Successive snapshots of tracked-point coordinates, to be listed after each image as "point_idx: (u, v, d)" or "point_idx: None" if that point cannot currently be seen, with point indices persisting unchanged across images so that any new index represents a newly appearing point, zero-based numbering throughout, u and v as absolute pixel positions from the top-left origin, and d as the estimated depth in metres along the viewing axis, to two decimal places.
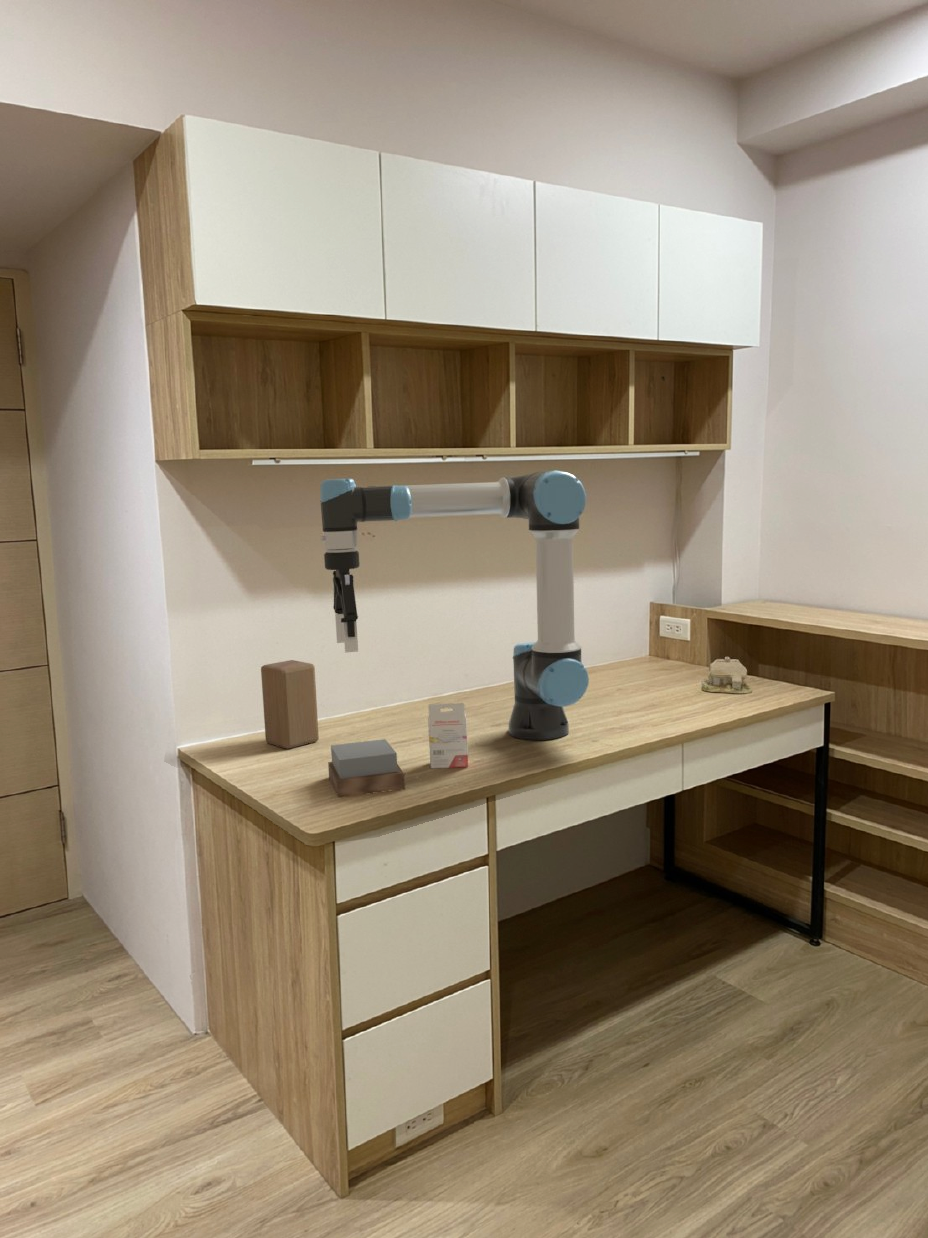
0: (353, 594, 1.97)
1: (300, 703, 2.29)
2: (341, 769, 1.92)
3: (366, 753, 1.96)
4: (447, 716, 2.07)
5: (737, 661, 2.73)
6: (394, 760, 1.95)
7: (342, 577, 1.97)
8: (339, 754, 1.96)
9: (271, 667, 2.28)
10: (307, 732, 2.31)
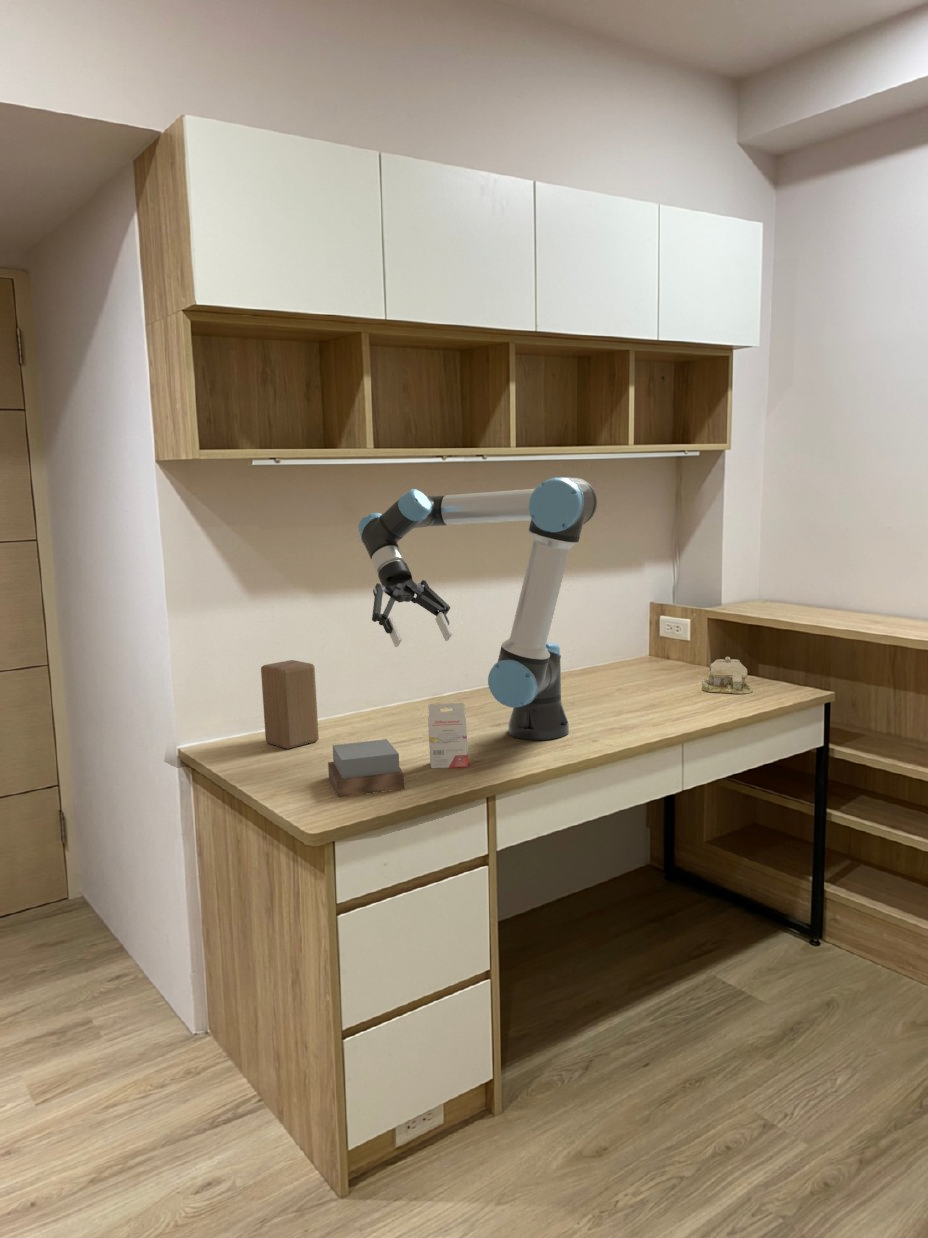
0: (376, 598, 2.16)
1: (299, 703, 2.29)
2: (343, 769, 1.92)
3: (368, 753, 1.96)
4: (447, 716, 2.07)
5: (737, 661, 2.72)
6: (396, 761, 1.95)
7: (373, 590, 2.20)
8: (341, 754, 1.96)
9: (271, 667, 2.28)
10: (307, 732, 2.31)
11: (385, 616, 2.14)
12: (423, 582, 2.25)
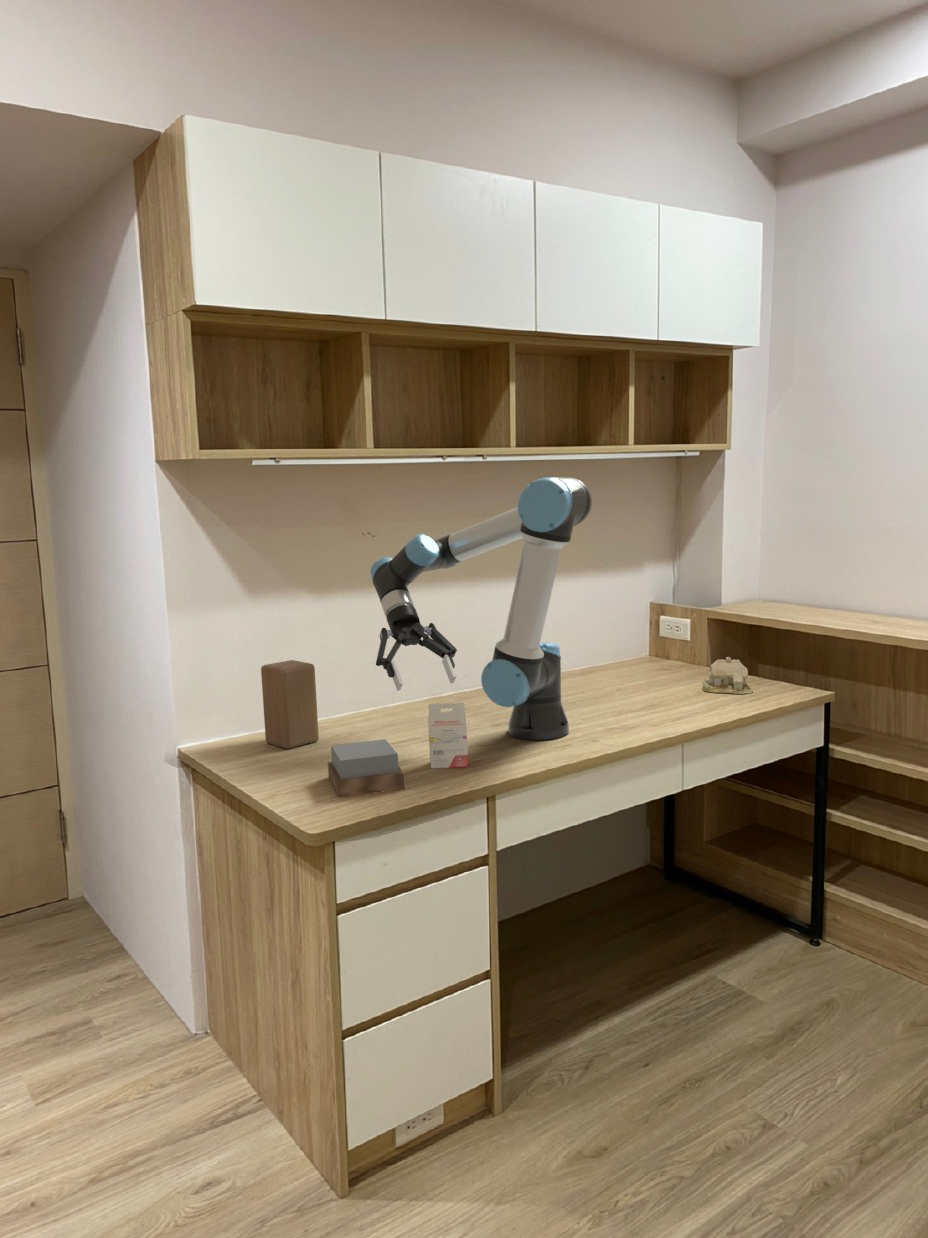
0: (381, 642, 2.21)
1: (300, 703, 2.29)
2: (342, 769, 1.92)
3: (367, 753, 1.96)
4: (447, 716, 2.07)
5: (738, 661, 2.72)
6: (395, 761, 1.95)
7: None
8: (340, 754, 1.96)
9: (271, 667, 2.28)
10: (307, 732, 2.31)
11: (388, 660, 2.17)
12: (431, 625, 2.28)
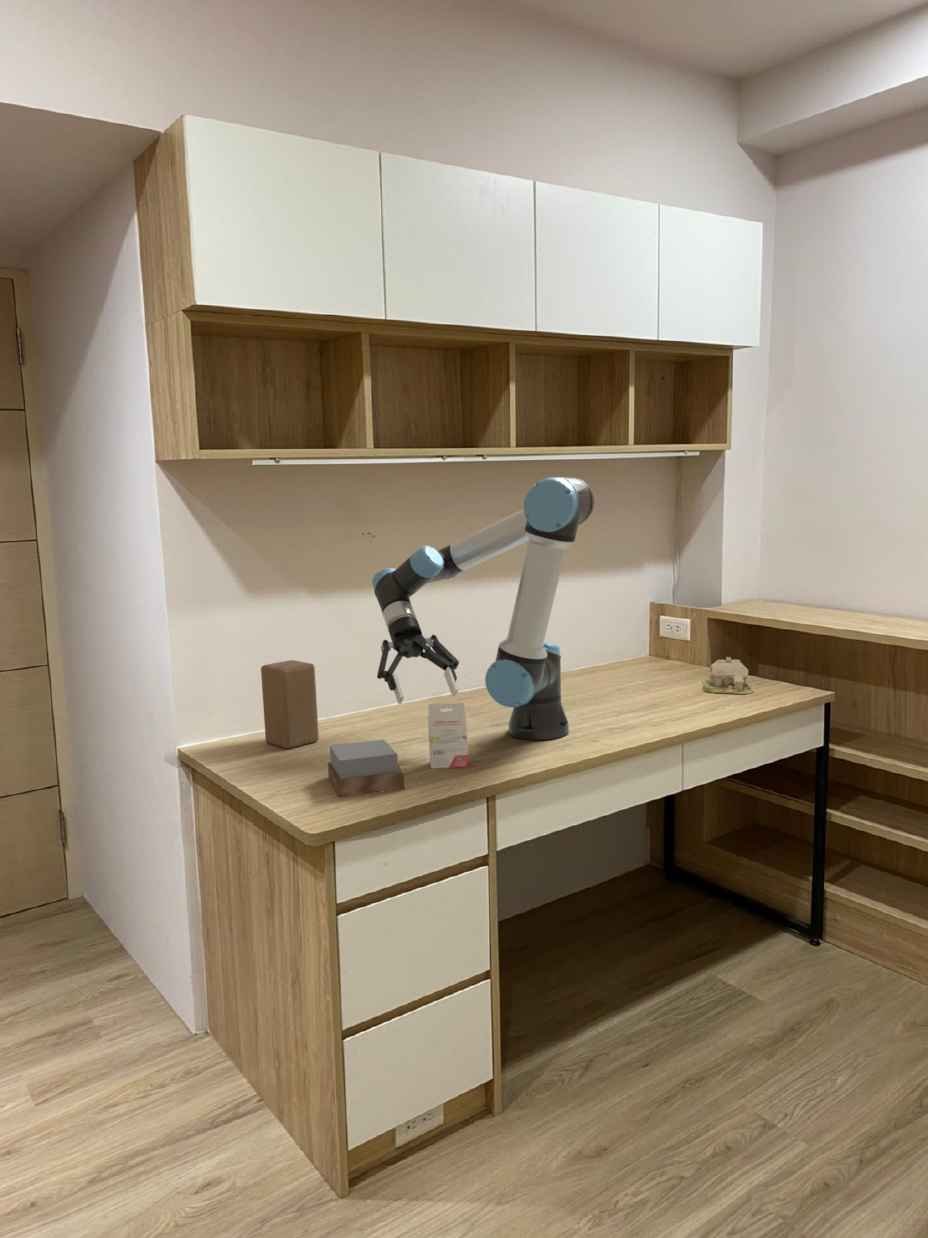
0: (382, 654, 2.18)
1: (299, 703, 2.29)
2: (342, 769, 1.92)
3: (366, 753, 1.96)
4: (447, 716, 2.07)
5: (738, 661, 2.72)
6: (395, 761, 1.95)
7: (381, 646, 2.22)
8: (339, 754, 1.96)
9: (271, 667, 2.28)
10: (307, 732, 2.31)
11: (389, 673, 2.15)
12: (433, 637, 2.26)
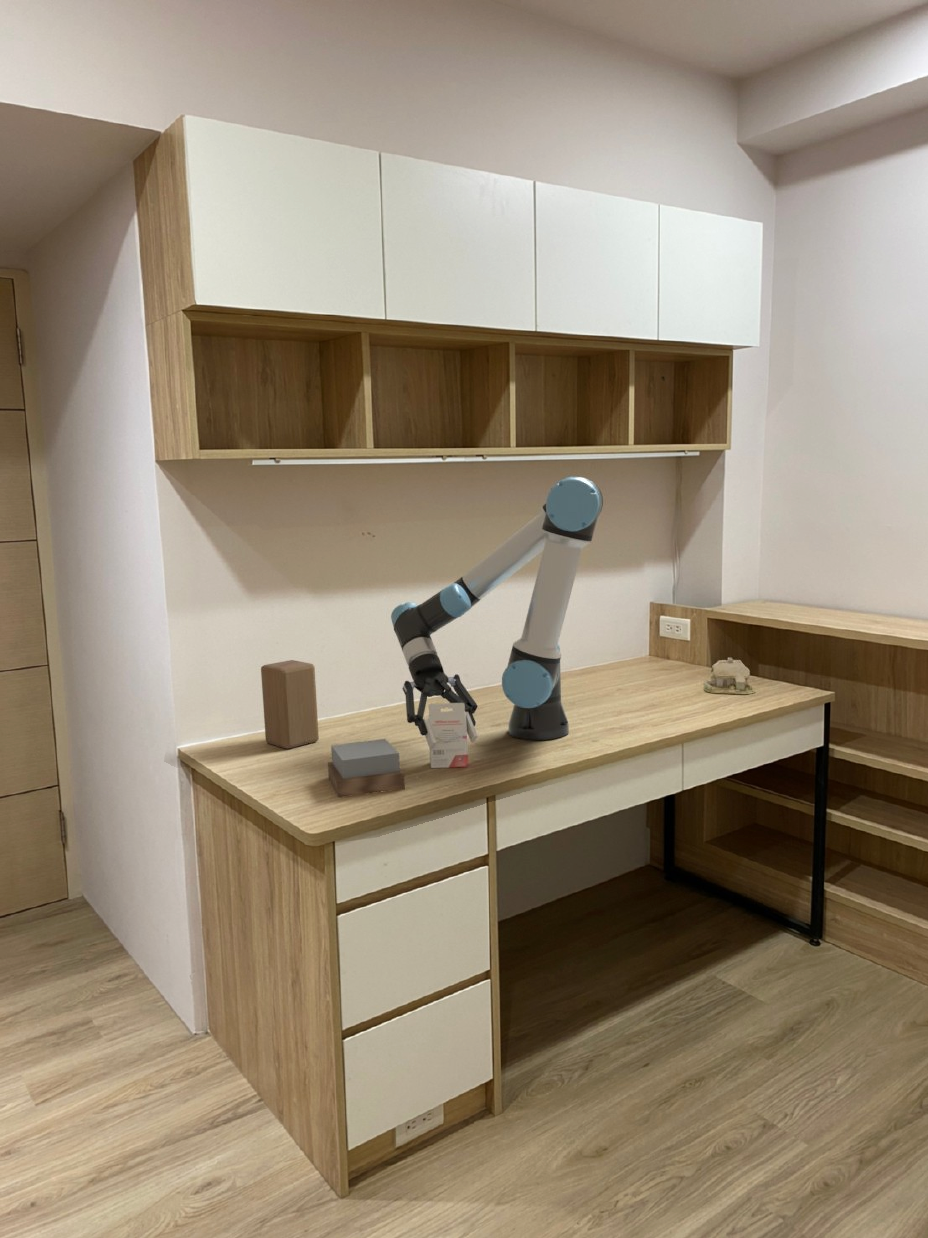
0: (408, 697, 2.10)
1: (300, 703, 2.29)
2: (344, 769, 1.92)
3: (368, 752, 1.96)
4: (447, 716, 2.07)
5: (740, 662, 2.72)
6: (397, 760, 1.95)
7: (402, 688, 2.14)
8: (341, 754, 1.96)
9: (271, 667, 2.28)
10: (307, 732, 2.31)
11: (420, 717, 2.07)
12: (456, 676, 2.17)
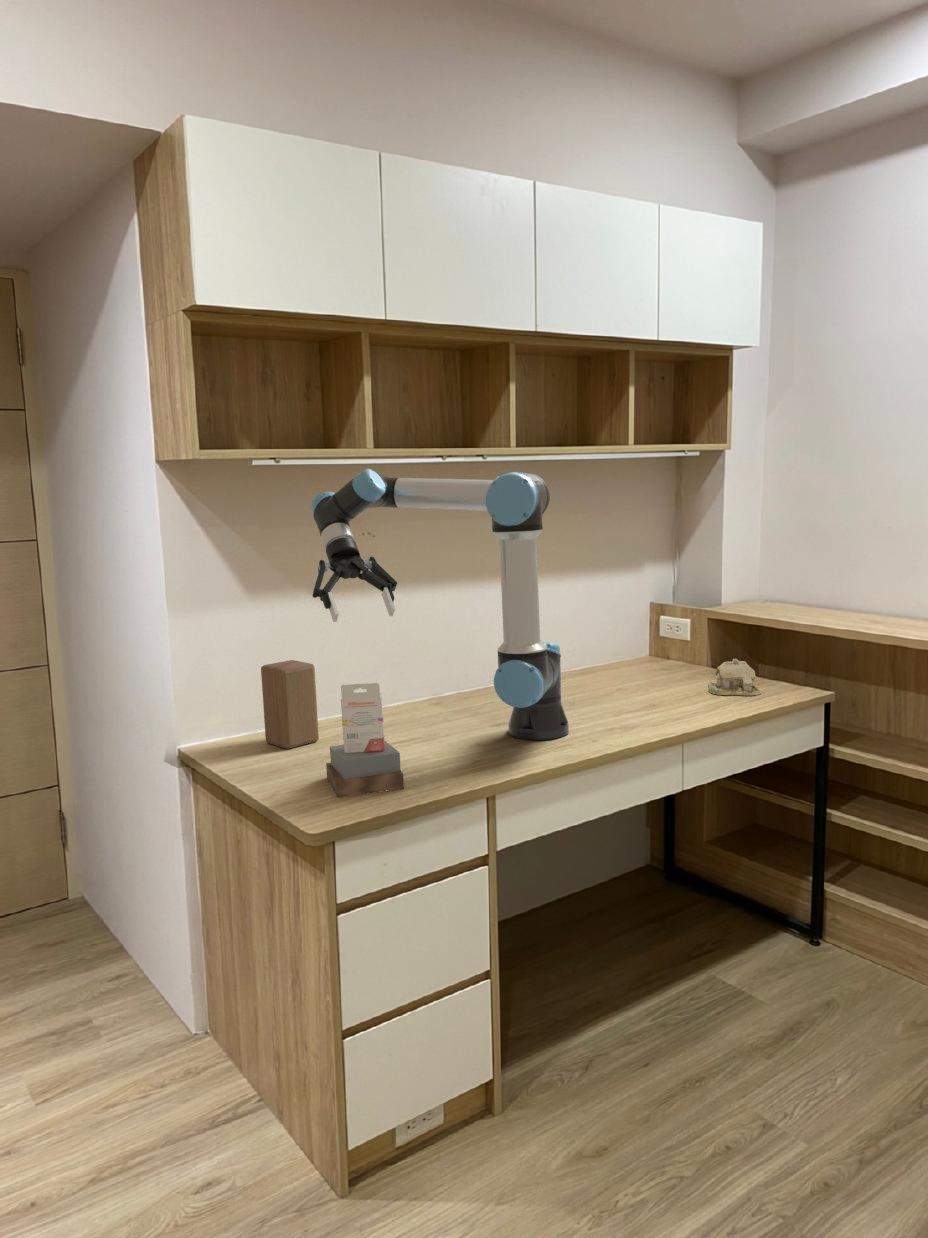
0: (318, 574, 2.16)
1: (300, 703, 2.29)
2: (346, 770, 1.92)
3: (368, 753, 1.96)
4: (361, 697, 1.95)
5: (745, 663, 2.70)
6: (398, 760, 1.96)
7: (318, 567, 2.20)
8: (342, 754, 1.96)
9: (271, 667, 2.28)
10: (307, 732, 2.31)
11: (324, 591, 2.13)
12: (371, 558, 2.23)
